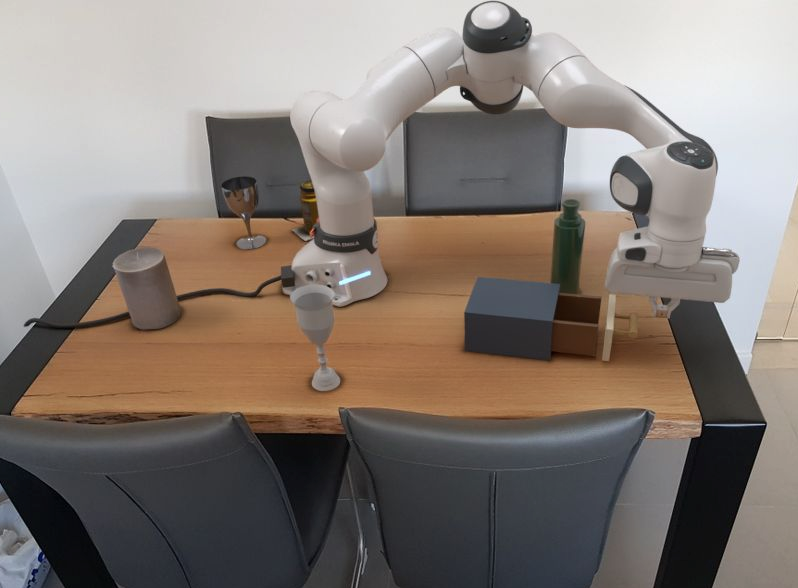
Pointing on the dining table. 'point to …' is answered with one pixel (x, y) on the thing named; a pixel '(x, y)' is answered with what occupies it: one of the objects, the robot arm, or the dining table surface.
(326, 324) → the chalice
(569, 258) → the bottle
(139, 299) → the pillar candle
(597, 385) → the dining table surface
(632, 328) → the drawer
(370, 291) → the robot arm
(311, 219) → the condiment
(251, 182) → the shiny metal goblet
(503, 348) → the cabinet
